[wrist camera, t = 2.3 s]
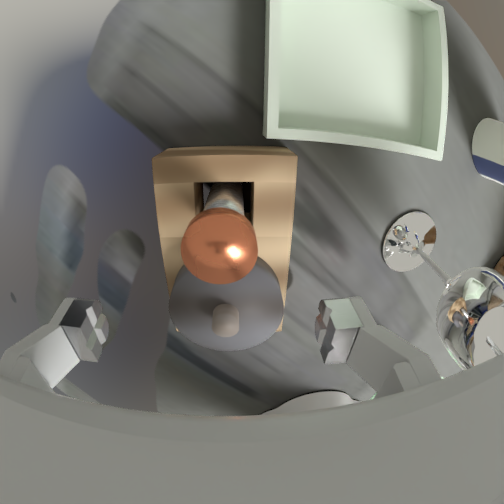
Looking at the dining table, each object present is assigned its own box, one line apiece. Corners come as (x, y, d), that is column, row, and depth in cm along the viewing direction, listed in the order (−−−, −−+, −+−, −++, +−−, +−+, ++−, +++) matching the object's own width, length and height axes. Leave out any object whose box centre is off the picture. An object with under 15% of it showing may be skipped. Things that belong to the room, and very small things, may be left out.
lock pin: (249, 211, 25) (256, 284, 15) (205, 212, 25) (184, 284, 15) (250, 168, 23) (259, 215, 13) (203, 168, 23) (176, 216, 13)
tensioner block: (275, 298, 30) (287, 363, 22) (184, 299, 30) (169, 363, 22) (285, 146, 22) (312, 168, 14) (168, 148, 22) (131, 170, 14)
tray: (421, 153, 23) (441, 161, 19) (262, 134, 22) (266, 138, 19) (423, 13, 15) (443, 7, 12) (266, -26, 14) (270, -43, 11)
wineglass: (396, 283, 30) (481, 419, 13) (369, 240, 27) (481, 400, 10) (443, 243, 28) (547, 358, 10) (422, 195, 25) (564, 314, 7)
